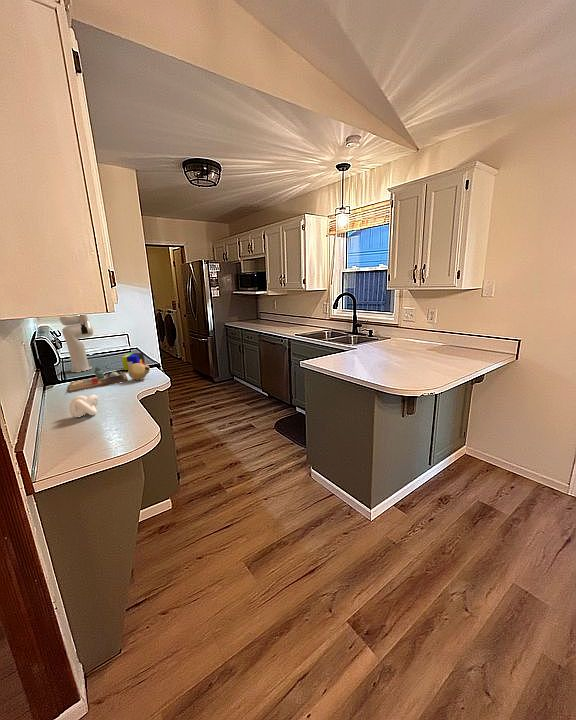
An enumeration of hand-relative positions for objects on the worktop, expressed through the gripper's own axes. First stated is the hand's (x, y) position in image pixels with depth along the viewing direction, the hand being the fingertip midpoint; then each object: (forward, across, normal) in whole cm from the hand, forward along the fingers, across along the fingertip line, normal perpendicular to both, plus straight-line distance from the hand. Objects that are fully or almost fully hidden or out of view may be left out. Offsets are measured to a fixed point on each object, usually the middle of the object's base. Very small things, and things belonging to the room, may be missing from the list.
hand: (85, 333), depth 196 cm
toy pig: (+29, -23, -24) cm, 44 cm away
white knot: (+29, -63, +5) cm, 70 cm away
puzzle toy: (+29, +6, -24) cm, 38 cm away
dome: (+27, -16, -10) cm, 34 cm away
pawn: (+27, -8, -3) cm, 29 cm away
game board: (+29, -12, -2) cm, 32 cm away
